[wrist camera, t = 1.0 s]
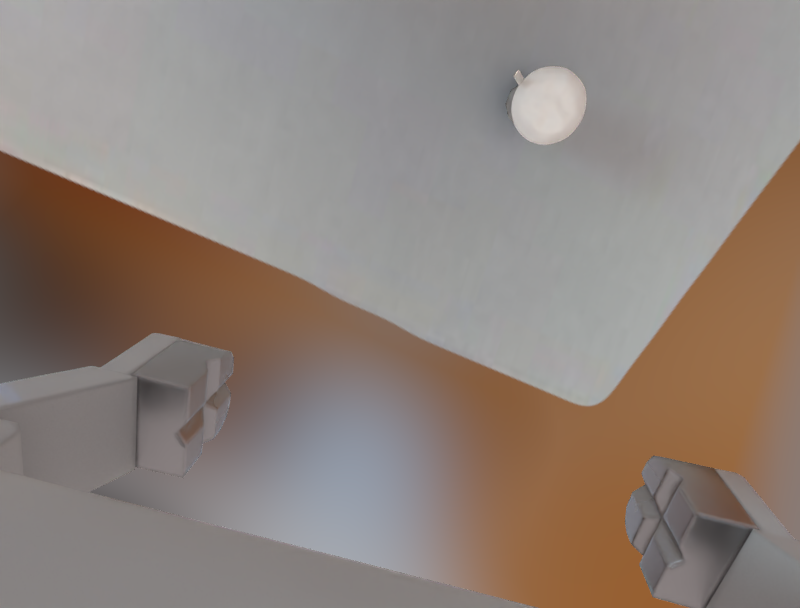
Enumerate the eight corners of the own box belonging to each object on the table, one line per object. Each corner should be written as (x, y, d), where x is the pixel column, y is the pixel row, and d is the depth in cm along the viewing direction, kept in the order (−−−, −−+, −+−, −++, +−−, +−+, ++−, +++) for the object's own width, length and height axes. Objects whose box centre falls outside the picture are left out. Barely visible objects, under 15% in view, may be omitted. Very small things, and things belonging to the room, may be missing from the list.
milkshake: (516, 51, 37) (543, 36, 28) (569, 98, 38) (612, 99, 29) (476, 103, 39) (489, 105, 30) (528, 147, 40) (556, 163, 31)
